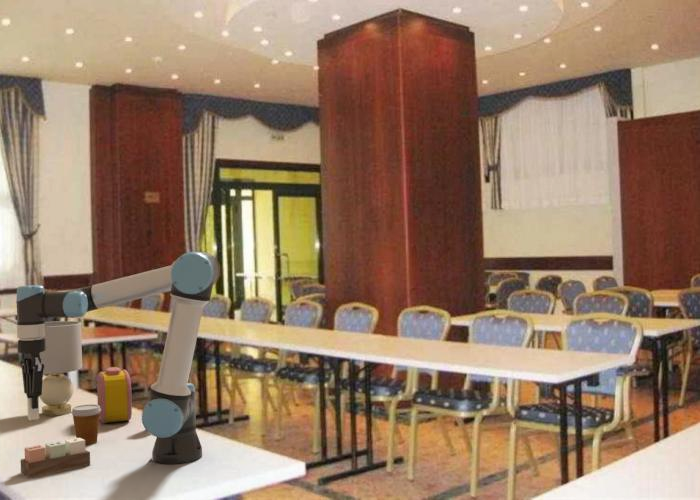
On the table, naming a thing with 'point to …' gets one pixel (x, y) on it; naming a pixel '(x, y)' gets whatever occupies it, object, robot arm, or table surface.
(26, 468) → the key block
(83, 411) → the disposable coffee cup
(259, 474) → the table surface
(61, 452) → the key two
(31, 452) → the key three
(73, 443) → the key one
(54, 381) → the lamp
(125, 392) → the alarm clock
